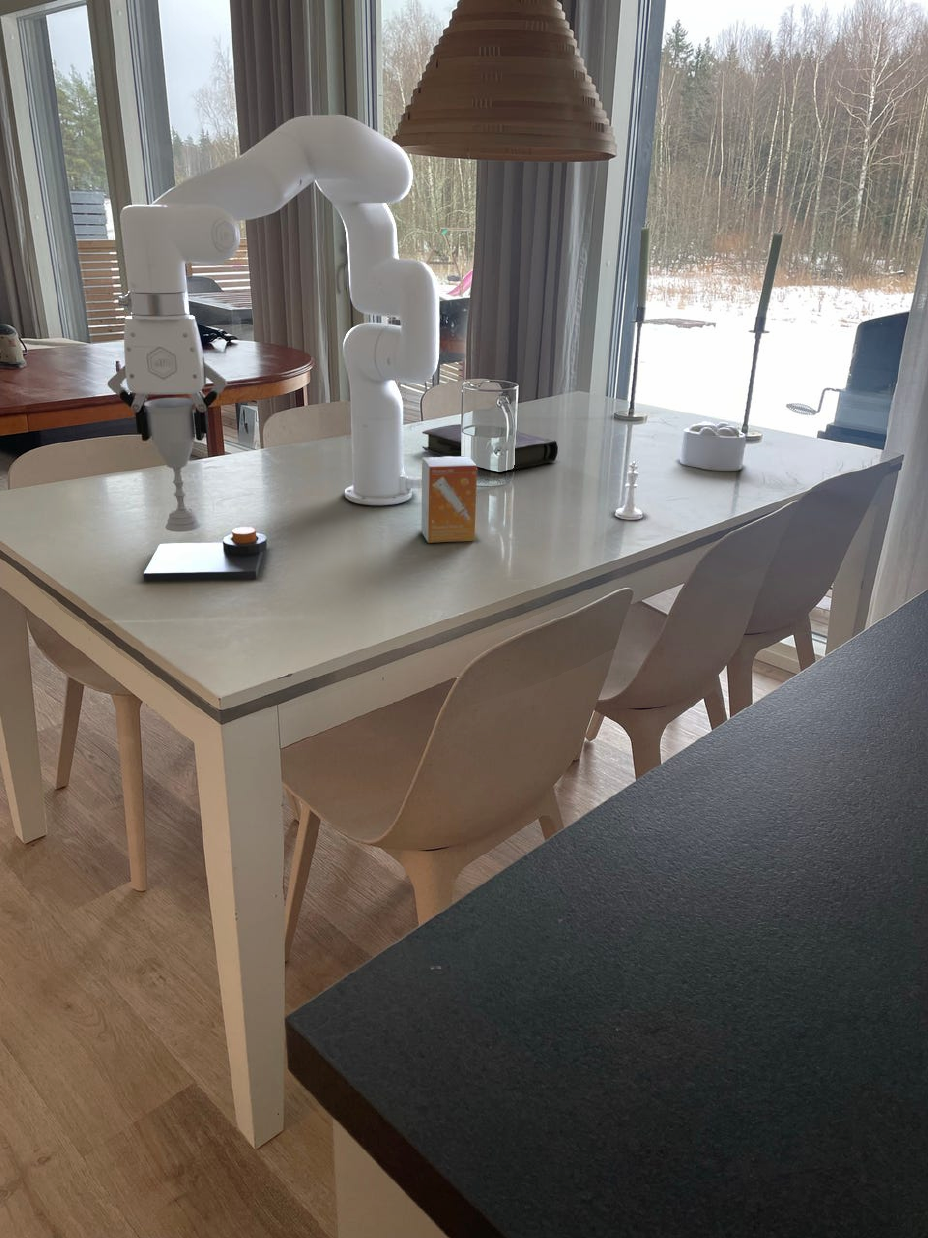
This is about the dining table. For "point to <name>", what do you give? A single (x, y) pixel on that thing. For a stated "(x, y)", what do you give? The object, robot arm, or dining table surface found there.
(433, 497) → the small box
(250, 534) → the power button
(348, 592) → the dining table surface
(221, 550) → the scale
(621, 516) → the chess piece
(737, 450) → the lumpy-topped squat cylinder
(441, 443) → the diary
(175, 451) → the chalice
